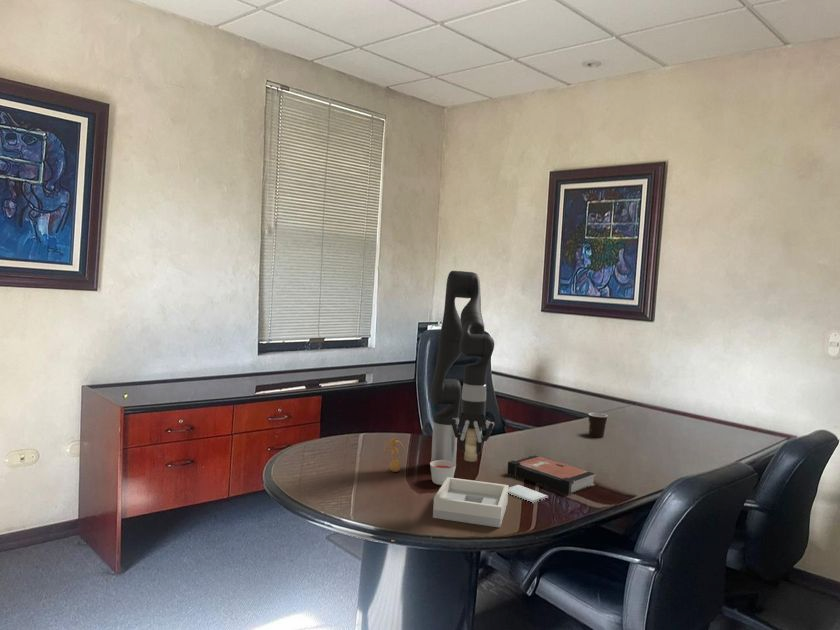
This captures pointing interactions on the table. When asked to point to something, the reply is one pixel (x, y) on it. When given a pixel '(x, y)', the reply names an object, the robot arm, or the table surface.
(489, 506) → the tray
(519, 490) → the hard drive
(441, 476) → the white cup
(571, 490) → the book
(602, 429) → the coffee mug
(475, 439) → the peg
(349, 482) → the table surface
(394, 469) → the figurine
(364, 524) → the table surface
